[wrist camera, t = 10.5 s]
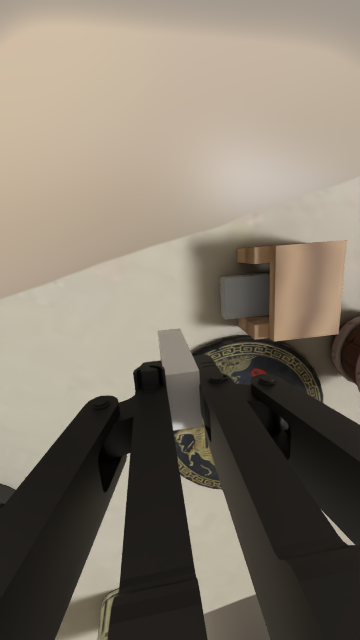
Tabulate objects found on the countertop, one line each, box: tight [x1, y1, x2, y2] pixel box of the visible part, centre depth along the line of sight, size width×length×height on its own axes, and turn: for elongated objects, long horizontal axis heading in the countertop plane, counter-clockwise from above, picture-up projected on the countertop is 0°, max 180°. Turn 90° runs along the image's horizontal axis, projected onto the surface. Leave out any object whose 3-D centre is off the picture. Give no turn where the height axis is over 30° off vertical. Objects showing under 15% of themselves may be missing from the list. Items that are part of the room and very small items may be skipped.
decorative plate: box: [173, 335, 323, 490], centre depth 45 cm, size 30×2×30 cm
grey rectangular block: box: [220, 273, 270, 320], centre depth 39 cm, size 10×6×3 cm, turn 94°
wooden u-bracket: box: [237, 240, 347, 342], centre depth 36 cm, size 11×12×8 cm
